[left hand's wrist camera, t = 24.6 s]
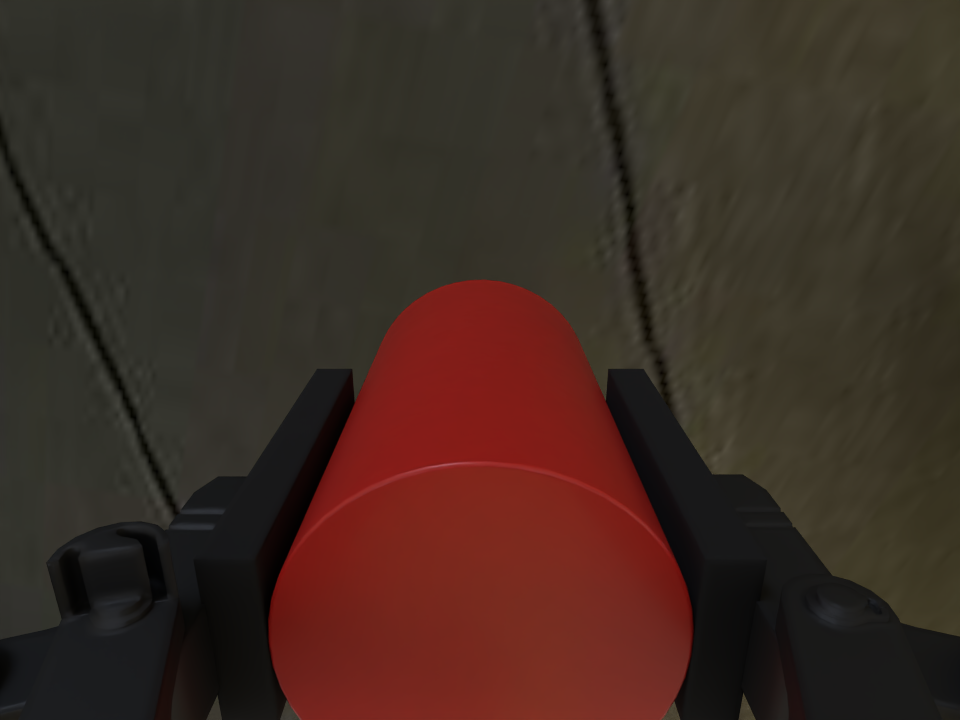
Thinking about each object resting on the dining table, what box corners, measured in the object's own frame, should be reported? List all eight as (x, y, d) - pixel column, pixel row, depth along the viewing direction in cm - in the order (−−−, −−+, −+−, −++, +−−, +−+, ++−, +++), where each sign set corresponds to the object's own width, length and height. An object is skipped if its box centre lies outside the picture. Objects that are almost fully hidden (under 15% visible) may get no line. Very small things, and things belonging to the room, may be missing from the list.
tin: (444, 236, 16) (400, 378, 7) (629, 351, 17) (785, 595, 8) (337, 413, 17) (197, 702, 9) (512, 508, 18) (540, 851, 10)
